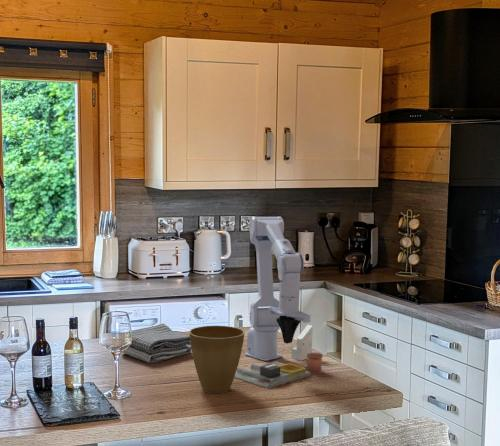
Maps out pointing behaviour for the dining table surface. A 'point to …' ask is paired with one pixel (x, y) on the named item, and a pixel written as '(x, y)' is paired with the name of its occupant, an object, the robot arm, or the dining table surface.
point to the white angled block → (303, 344)
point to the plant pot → (216, 355)
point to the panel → (286, 375)
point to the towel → (158, 344)
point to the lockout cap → (314, 362)
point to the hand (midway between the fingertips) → (287, 342)
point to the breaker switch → (270, 370)
